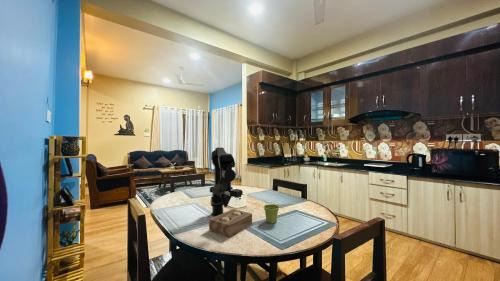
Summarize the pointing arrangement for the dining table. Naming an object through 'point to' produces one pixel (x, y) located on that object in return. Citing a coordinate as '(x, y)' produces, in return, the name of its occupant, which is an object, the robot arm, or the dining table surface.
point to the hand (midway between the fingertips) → (225, 207)
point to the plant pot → (271, 212)
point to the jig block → (230, 223)
